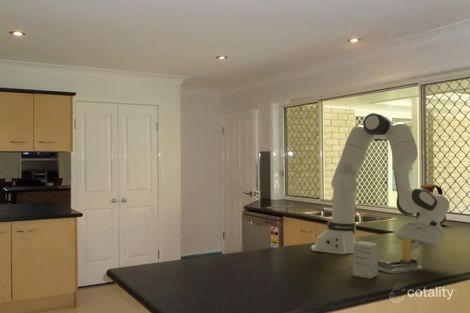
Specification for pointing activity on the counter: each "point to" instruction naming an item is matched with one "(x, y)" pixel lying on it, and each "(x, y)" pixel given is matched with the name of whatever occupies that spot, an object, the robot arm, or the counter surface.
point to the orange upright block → (406, 251)
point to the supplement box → (365, 259)
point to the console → (398, 266)
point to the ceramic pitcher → (430, 189)
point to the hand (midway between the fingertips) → (409, 250)
